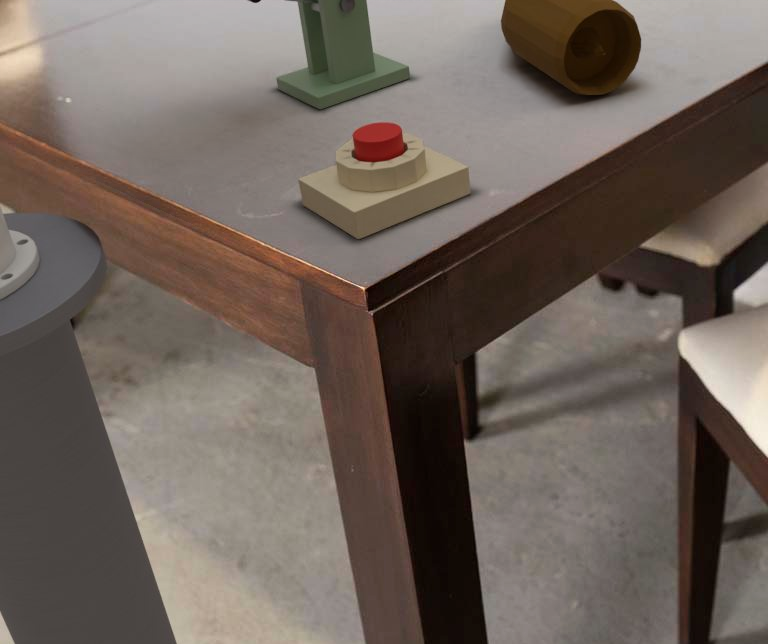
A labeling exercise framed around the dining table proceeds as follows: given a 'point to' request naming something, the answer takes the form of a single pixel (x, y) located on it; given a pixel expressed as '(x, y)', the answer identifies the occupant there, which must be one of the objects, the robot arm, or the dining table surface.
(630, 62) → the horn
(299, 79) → the mains bracket
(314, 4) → the lever
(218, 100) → the dining table surface
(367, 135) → the light button
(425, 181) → the switch block
